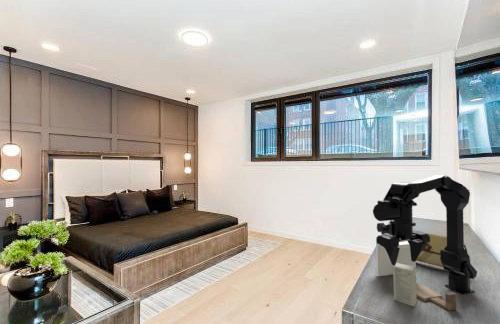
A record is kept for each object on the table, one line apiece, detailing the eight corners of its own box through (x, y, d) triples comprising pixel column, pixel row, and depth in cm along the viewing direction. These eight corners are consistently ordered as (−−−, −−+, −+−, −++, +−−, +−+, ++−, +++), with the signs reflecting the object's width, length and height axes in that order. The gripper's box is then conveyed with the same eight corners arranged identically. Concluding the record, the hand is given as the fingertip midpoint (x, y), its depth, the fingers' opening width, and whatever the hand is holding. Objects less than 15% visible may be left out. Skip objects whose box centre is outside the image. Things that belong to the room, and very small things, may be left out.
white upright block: (398, 272, 108) (397, 236, 108) (416, 282, 99) (415, 243, 99) (376, 275, 105) (376, 238, 105) (393, 285, 96) (392, 245, 97)
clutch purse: (389, 257, 125) (388, 228, 125) (394, 254, 130) (394, 225, 130) (465, 278, 102) (464, 242, 102) (469, 273, 107) (468, 239, 107)
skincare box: (417, 302, 85) (416, 266, 85) (414, 307, 82) (413, 270, 82) (396, 295, 90) (396, 261, 90) (392, 299, 86) (392, 265, 86)
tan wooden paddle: (422, 287, 95) (422, 273, 95) (462, 309, 80) (462, 293, 80) (404, 289, 93) (404, 275, 93) (443, 312, 79) (442, 296, 79)
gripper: (402, 212, 97) (402, 252, 97) (364, 216, 91) (364, 258, 91) (430, 218, 86) (431, 262, 86) (389, 223, 80) (390, 270, 80)
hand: (403, 263), depth 86 cm, fingers open, 9 cm apart
